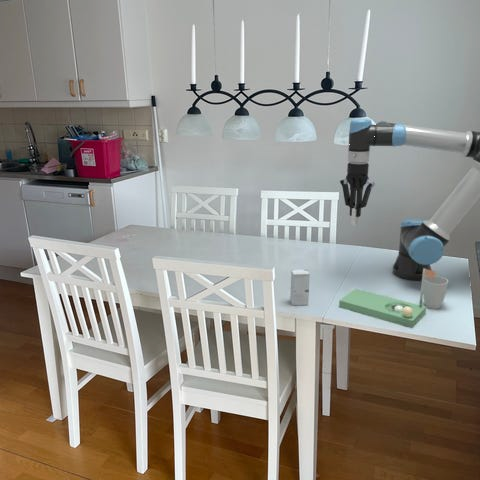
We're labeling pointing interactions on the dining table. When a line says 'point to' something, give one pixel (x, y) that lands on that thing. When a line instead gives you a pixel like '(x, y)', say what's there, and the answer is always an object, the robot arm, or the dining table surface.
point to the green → (381, 307)
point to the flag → (425, 273)
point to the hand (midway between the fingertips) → (354, 224)
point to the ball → (398, 308)
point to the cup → (434, 291)
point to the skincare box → (299, 287)
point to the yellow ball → (407, 311)
